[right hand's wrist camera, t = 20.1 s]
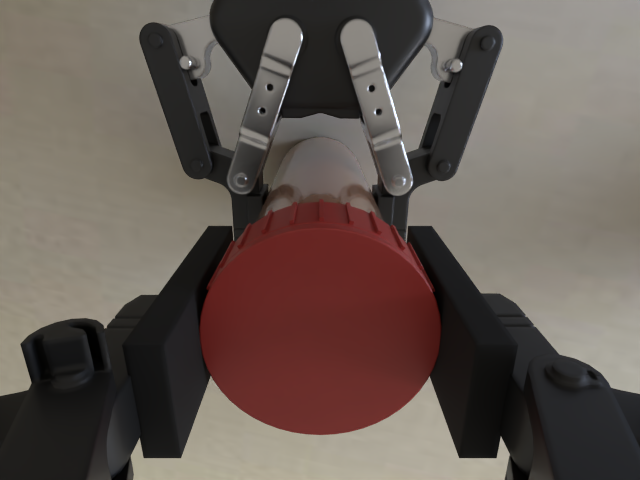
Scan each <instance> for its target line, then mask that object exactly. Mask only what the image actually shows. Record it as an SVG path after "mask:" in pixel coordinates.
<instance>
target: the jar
mask: <svg viewBox="0 0 640 480" xmlns="http://www.w3.org/2000/svg"><path fill="white" fill-rule="evenodd" d="M319 199H324V202H332V203H339V204H344V205H345V204H346V202H348V203H350V205H351V206H352V207H355V208H358V209H362V210H364V211H366V212H368V213H370V211H373V212H374V213H375V215H376V217H378V218H379V219H381V220H382V221H384V220H383V218H382V216H381V213H380V211H379V209H378V206H377V204H376V202H375V199H374V197H373V195H372V192H371V190H370V188H369V186H368V183H367V181H366V179H365V176H364V174H363V172H362V169H361V167H360V165H359V162H358V160H357V158H356V157H355V155H354V154H353V152H352V151H351V150H350V149H349V148H348V147H347V146H345V145H344V144H342V143H341V142H339V141H337V140H334V139H331V138H326V137H314V138H309V139H306V140H304V141H301V142H299V143H298V144H296V145H295V146H294V147H292V148H291V149H290V150H289V151H288V153H287V154H286V155H285V157H284V159H283V161H282V163H281V165H280V167H279V170H278V172H277V174H276V177H275V179H274V181H273V184H272V186H271V188H270V191H269V193H268V195H267V198H266V200H265V202H264V205H263V207H262V209H261V212H260V214H259V216H258V219H257V221H258V220H260V219H261V218H263V217H264V216H266V215H267V213H268V211H270V210H272V211H273V212H275V211H277V210H279V209H282V208H285V207H288V206H291V205H293V202H297V204H302V203H309V202H319ZM257 221H256V222H257Z"/></svg>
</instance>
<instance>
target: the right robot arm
mask: <svg viewBox="0 0 640 480" xmlns="http://www.w3.org/2000/svg"><path fill="white" fill-rule="evenodd" d="M232 241H233V232H232V226H208V228H207V229H206V230H205V232H204V233H203V234H202V236H201V237H200V239H199V240H198V241H197V243H196V244H195V245H194V247H193V248H192V250H191V251H190V252H189V254H188V255H187V256H186V258H185V259H184V260H183V262H182V263H181V265H180V266H179V267H178V269H177V270H176V271H175V273H174V274H173V276H172V277H171V278H170V280H169V281H168V282H167V284H166V285H165V286H164V288H163V289H162V291H161V292H160V293H159V295H140V296H139V297H137V298H135V299H134V300H132V301H130V302H129V303H127V304H126V305H124V307H123V308H122V309H121V310H120V311H119V312H118V314H117V315H116V316H115V319H113V320H112V321H111V322H110V323H109V324H108V326H107V328H105V329H104V326H103V325H102V324H101V323H100V322H98V321H97V320H92V319H87V318H81V319H69V320H65V321H60V322H56V323H53V324H50V325H48V326H45V327H43V328H40V329H39V330H37V331H35V332H34V333H32V334H30V335H29V336H28V337H27V338H26V339H25V340H24V341H23V342H22V343H21V348H22V351H23V355H24V358H25V361H26V365H27V368H28V372H29V375H30V379H31V382H32V384H31V386H30V388H29V390H27V391H23V392H19V393H14V394H9V395H4V396H0V480H133V475H134V473H133V467H132V461H131V454H132V452H133V450H134V448H135V446H136V444H137V442H138V440H139V438H140V441H141V446H142V451H143V456H144V458H181V456H182V454H183V451H184V448H185V445H186V443H187V440H188V437H189V434H190V432H191V429H192V426H193V423H194V420H195V418H196V415H197V412H198V409H199V407H200V404H201V401H202V398H203V396H204V393H205V390H206V387H207V385H208V382H209V379H210V376H211V375H210V373H209V371H208V369H207V366H206V364H205V361H204V358H203V355H202V350H201V344H200V334H199V325H200V315H201V311H202V307H203V304H204V300H205V298H206V296H207V294H208V291H209V290H207V289H206V288H207V286H208V284H209V282H210V280H211V278H212V276H213V274H214V273H215V271H216V269H217V267H218V265H219V263H220V261H221V260H222V258H223V257H224V255H225V253H226V251H227V249H228V247H229V245H230V243H231V242H232ZM408 242H410V244H411V245H412V247H413V249H414V251H415V253H416V255H417V257H418V258H419V260H420V262H421V264H422V266H423V268H424V270H425V272H426V274H427V276H428V278H429V279H430V281H431V283H432V285H433V287H434V289H435V292H433V294H434V296H435V299H436V301H437V305H438V308H439V312H440V318H441V338H440V346H439V354H438V357H437V360H436V363H435V366H434V368H433V370H432V372H431V374H430V378H431V381H432V384H433V387H434V389H435V392H436V395H437V398H438V400H439V403H440V406H441V409H442V411H443V414H444V417H445V420H446V423H447V425H448V428H449V431H450V434H451V436H452V439H453V442H454V445H455V447H456V450H457V453H458V456H459V458H497V453H498V447H499V442H500V437H502V439H503V441H504V443H505V445H506V447H507V449H508V451H509V453H510V456H509V461H508V466H507V471H506V476H505V480H640V394H636V393H631V392H626V391H621V390H617V389H613V388H611V387H610V385H609V383H608V382H607V380H606V379H605V378H604V377H603V375H602V374H601V373H600V372H598V371H597V370H595V369H594V368H593V367H591V366H590V365H588V364H586V363H583V362H581V361H579V360H577V359H574V358H570V357H566V356H562V355H559V354H558V353H557V351H556V350H555V349H554V348H553V347H552V346H551V344H550V343H549V342H548V341H547V340H546V339H545V337H544V336H543V335H542V334H541V333H540V331H539V330H538V329H537V328H536V327H534V326H533V323H532V322H531V321H530V320H529V319H528V317H525V314H524V313H523V311H522V310H521V309H520V308H519V307H518V306H517V304H516V303H514V302H512V301H511V300H509V299H507V298H506V297H504V296H503V295H501V294H481V293H480V292H479V290H478V289H477V287H476V286H475V285H474V283H473V282H472V281H471V279H470V278H469V277H468V275H467V274H466V272H465V271H464V270H463V268H462V267H461V266H460V264H459V263H458V261H457V260H456V259H455V257H454V256H453V255H452V253H451V252H450V251H449V249H448V248H447V246H446V245H445V244H444V242H443V241H442V240H441V238H440V237H439V235H438V234H437V233H436V231H435V230H434V229H433V227H432V226H408V235H407V243H408Z"/></svg>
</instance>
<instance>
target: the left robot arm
mask: <svg viewBox="0 0 640 480" xmlns="http://www.w3.org/2000/svg"><path fill="white" fill-rule="evenodd" d="M139 40H140V45H141V47H142V50H143V53H144V56H145V59H146V62H147V65H148V68H149V71H150V74H151V77H152V79H153V82H154V85H155V88H156V91H157V94H158V97H159V100H160V103H161V106H162V109H163V112H164V114H165V117H166V120H167V123H168V126H169V129H170V132H171V135H172V138H173V141H174V144H175V146H176V149H177V152H178V155H179V158H180V161H181V164H182V167H183V169H184V171H185V173H186V174H187V175H188V176H189V177H191V178H193V179H203V178H206V179H209V180H212V181H214V182H217V183H220V184H222V185H223V186H225V187H226V188H227V189H228V191H229V192H230V194H231V198H232V211H233V226H234V241H235V242H236V240H237V239H238V238H239V237H240V236H241V235H242V233H243V232H244V231H245V229H246V226H247V225H248V224H249V223H250V224H251V225H252V224H254V223H255V222H256V221H257V219H258V216H259V214H260V212H261V209H262V207H263V205H264V202H265V200H266V198H267V195H268V184H263V169H264V166H265V163H266V160H267V157H268V154H269V151H270V148H271V145H272V142H273V140H274V137H275V135H276V132H277V129H278V126H279V123H280V120H281V118H302V117H306V116H310V115H314V114H317V113H323V114H327V115H330V116H334V117H337V118H352V119H360V122H361V125H362V129H363V132H364V134H365V137H366V140H367V143H368V146H369V149H370V152H371V155H372V158H373V161H374V165H375V168H376V171H377V174H378V185H373V186H372V195H373V197H374V199H375V202H376V204H377V206H378V209H379V211H380V213H381V216H382V218H383V220H384V222H385V223H387V224H388V225H389V226H391V225H392V224H393V225H394V226H395V227H396V229H397V231H398V233H399V235H400V236H401V237H402V239H403V240H404V241H405V238H406V227H407V215H408V204H409V198H410V195H411V193H412V192H413V190H414V189H415V188H417V187H418V186H420V185H422V184H425V183H428V182H431V181H434V180H438V181H445V180H448V179H450V178H452V177H453V176H454V175H455V173H456V171H457V169H458V166H459V163H460V161H461V158H462V155H463V152H464V150H465V147H466V144H467V141H468V139H469V136H470V133H471V131H472V128H473V125H474V122H475V120H476V117H477V114H478V111H479V109H480V106H481V103H482V100H483V98H484V95H485V92H486V89H487V87H488V84H489V81H490V79H491V76H492V73H493V70H494V68H495V65H496V62H497V59H498V57H499V54H500V51H501V48H502V45H503V36H502V33H501V32H500V30H499V29H498V28H497V27H495V26H491V25H487V26H483V27H479V28H476V29H472V28H468V27H465V26H461V25H458V24H454V23H451V22H447V21H444V20H440V19H437V18H433V11H432V8H431V5H430V3H429V1H428V0H214V1H213V3H212V5H211V9H210V15H208V16H204V17H200V18H196V19H192V20H188V21H185V22H181V23H177V24H173V25H165V24H159V23H148V24H146V25H145V26H144V27H143V28H142V30H141V32H140V36H139ZM218 43H219V44H220V46H221V47H222V49H223V50H224V51H225V53H226V54H227V56H228V57H229V58H230V60H231V61H232V62H233V64H234V65H235V67H236V68H237V69H238V71H239V72H240V73H241V75H242V76H243V78H244V79H245V80H246V82H247V83H248V85H249V86H250V87H251V89H252V91H251V95H250V98H249V101H248V104H247V108H246V111H245V114H244V117H243V121H242V124H241V127H240V131H239V139H238V142H237V145H236V149H235V152H234V151H231V150H229V149H226V148H223V147H222V146H221V143H220V140H219V137H218V133H217V130H216V127H215V124H214V120H213V117H212V114H211V110H210V107H209V104H208V101H207V97H206V94H205V91H204V88H203V84H202V81H201V79H202V78H204V77H206V76H207V75H208V74H209V72H210V69H211V60H210V54H211V51H212V49H213V47H214V46H215V45H216V44H218ZM423 46H426V47H427V48H428V49H429V51H430V53H431V57H432V62H431V73H432V75H433V77H434V78H435V79H436V80H438V81H440V84H439V88H438V91H437V94H436V97H435V100H434V103H433V106H432V109H431V112H430V115H429V118H428V121H427V124H426V127H425V130H424V133H423V136H422V139H421V143H420V146H419V149H417V150H414V151H411V152H408V153H405V149H404V146H403V142H402V138H401V136H402V135H401V130H400V126H399V122H398V119H397V115H396V112H395V108H394V105H393V101H392V98H391V94H390V89H391V88H392V87H393V85H394V84H395V83H396V82H397V80H398V79H399V78H400V76H401V75H402V74H403V72H404V71H405V70H406V68H407V67H408V66H409V64H410V63H411V62H412V60H413V59H414V58H415V56H416V55H417V54H418V52H419V51H420V50H421V48H422V47H423Z"/></svg>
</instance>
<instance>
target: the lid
mask: <svg viewBox="0 0 640 480" xmlns="http://www.w3.org/2000/svg"><path fill="white" fill-rule="evenodd" d="M206 289H207V290H209V291H208V294H207V296H206V298H205V300H204V304H203V307H202V311H201V315H200V325H199V334H200V344H201V350H202V355H203V358H204V361H205V364H206V366H207V369H208V371H209V373H210V375H211V376H212V378H213V380H214V382H215V383H216V384H217V386H218V387H219V389H220V390H221V391H222V392H223V393H224V394H225V395H226V397H227V398H228V399H229V400H230V401H231V402H232V403H234V404H235V405H236V406H237V407H238V408H240V409H241V410H242V411H244V412H245V413H247V414H248V415H250V416H252V417H253V418H255V419H257V420H259V421H261V422H263V423H265V424H268V425H270V426H273V427H276V428H278V429H282V430H286V431H290V432H295V433H302V434H313V435H328V434H339V433H345V432H351V431H355V430H358V429H362V428H365V427H368V426H370V425H373V424H375V423H378V422H380V421H382V420H383V419H385V418H387V417H389V416H391V415H392V414H394V413H395V412H397V411H398V410H400V409H401V408H402V407H403V406H405V405H406V404H407V403H408V402H409V401H410V400H411V399H412V398H413V397H414V396H415V395H416V394H417V393H418V392H419V391H420V389H421V388H422V387H423V385H424V384H425V382H426V381H427V380H428V378H429V376H430V374H431V372H432V370H433V368H434V366H435V363H436V360H437V357H438V354H439V346H440V338H441V318H440V312H439V308H438V305H437V301H436V299H435V296H434V294H433V292H435V289H434V287H433V285H432V283H431V281H430V279H429V278H428V276H427V274H426V272H425V270H424V268H423V266H422V264H421V262H420V260H419V258H418V257H417V255H416V253H415V251H414V249H413V247H412V245H411V244H410V242H408V243H406V242H405V241H404V240H403V239H402V237H401V236H400V235H399V233H398V231H397V229H396V227H395V226H394V225H393V224H392V225H391V226H389V225H388V224H387V223H385V222H384V221H382V220H381V219H379V218H378V217H376V215H375V213H374V212H373V211H370V213H368V212H366V211H364V210H362V209H358V208H355V207H352V206H351V205H350V203H348V202H346V204H345V205H344V204H339V203H332V202H324V199H319V202H309V203H302V204H297V202H293V205H291V206H288V207H285V208H282V209H279V210H277V211H275V212H273V211H272V210H270V211H268V213H267V215H266V216H264V217H263V218H261V219H260V220H258V221H257V222H255V223H254V224H252V225H251V224H250V223H249V224H248V225H247V226H246V229H245V231H244V232H243V233H242V235H241V236H240V237H239V238H238V239H237V240H236V242H235V241H232V242H231V243H230V245H229V247H228V249H227V251H226V253H225V255H224V257H223V258H222V260H221V261H220V263H219V265H218V267H217V269H216V271H215V273H214V274H213V276H212V278H211V280H210V282H209V284H208V286H207V288H206Z"/></svg>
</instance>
